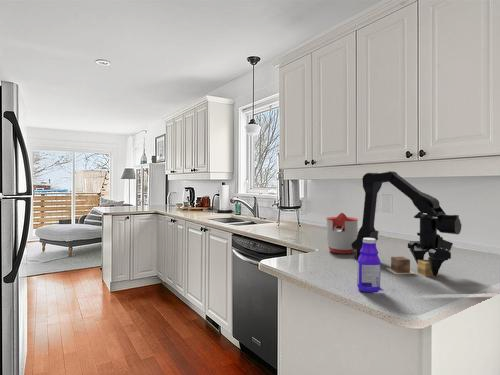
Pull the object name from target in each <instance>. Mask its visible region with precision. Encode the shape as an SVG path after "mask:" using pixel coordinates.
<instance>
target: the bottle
mask: <svg viewBox="0 0 500 375" xmlns="http://www.w3.org/2000/svg"><path fill="white" fill-rule="evenodd" d="M360 252H361V254H360V256H359V258H358V261H356V262H357V263H356V264H357V265H356V266H357V268H356V269H357V270H356V285H357V289H359V290H360V291H361V292H364V293H377V292H379V291H380V288H381V270H382V269H381V268H382V266H381V263H382V262H381V260H380V257H379V251H378V248H377V241H376V239H374V238H363V246H362V248H361V250H360Z"/></svg>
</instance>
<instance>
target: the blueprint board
mask: <svg viewBox="0 0 500 375" xmlns="http://www.w3.org/2000/svg"><path fill="white" fill-rule="evenodd" d="M385 269H386V270H387V271H389V272H391V273H393V274H394V275H414V274H416V272H413V271H412V270H410V273H397V272H395V271H393V270H392V269H391V267H386V268H385Z"/></svg>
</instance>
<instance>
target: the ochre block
mask: <svg viewBox="0 0 500 375" xmlns="http://www.w3.org/2000/svg"><path fill="white" fill-rule="evenodd" d="M417 273H418V274H420V275H421V276H423V277H434V276H433V273H432V270H431V266H430V263H429V259H424V260H418V265H417ZM436 277H439V273H438V274H437V276H436Z"/></svg>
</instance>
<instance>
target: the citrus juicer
mask: <svg viewBox="0 0 500 375" xmlns="http://www.w3.org/2000/svg"><path fill="white" fill-rule="evenodd" d="M325 219H326V240H327V241H326V242H327V245H328V250H329V252H331V253H333V254H343V255H349V254H353V253H354V249H353V248H352V245H351V244H352V243H353V242H354V241H355V240H356V239H357V235H358V231H359V228H358V223H359V222H358V221H359V219H358V218H356V217H347V215H346V214H345V213H344V212H340V213H339V214H338V215H337V216H329V217H326V218H325Z"/></svg>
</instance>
